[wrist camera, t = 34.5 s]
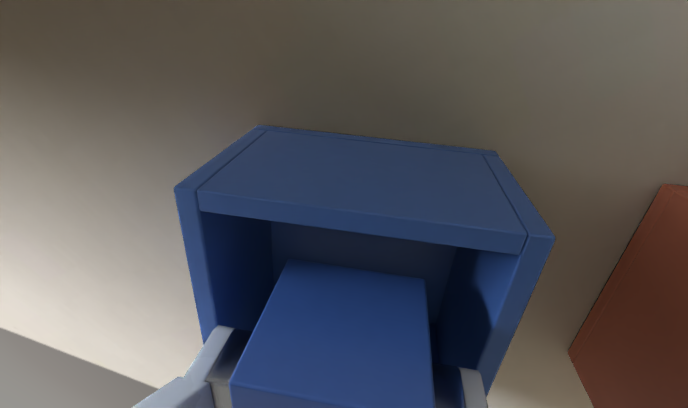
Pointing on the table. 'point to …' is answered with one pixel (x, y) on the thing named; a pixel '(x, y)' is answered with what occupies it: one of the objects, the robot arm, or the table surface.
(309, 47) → the table surface
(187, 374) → the robot arm
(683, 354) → the terracotta bin
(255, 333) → the blue block
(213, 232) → the blue bin
